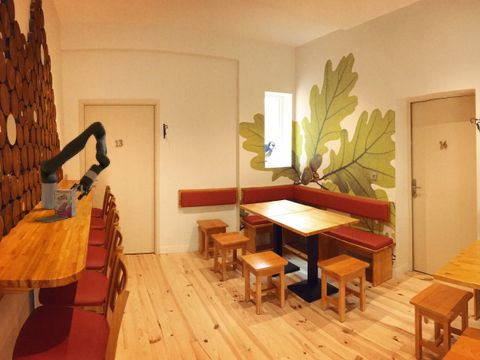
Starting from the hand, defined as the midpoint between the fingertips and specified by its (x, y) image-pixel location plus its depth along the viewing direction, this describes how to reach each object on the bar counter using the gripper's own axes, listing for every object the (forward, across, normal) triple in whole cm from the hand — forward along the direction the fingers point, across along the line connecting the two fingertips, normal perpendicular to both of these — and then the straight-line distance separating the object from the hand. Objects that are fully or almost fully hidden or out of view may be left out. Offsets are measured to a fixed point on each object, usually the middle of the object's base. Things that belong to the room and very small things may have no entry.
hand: (73, 198), depth 215 cm
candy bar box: (+13, -4, 0) cm, 13 cm away
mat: (+19, -6, +8) cm, 21 cm away
